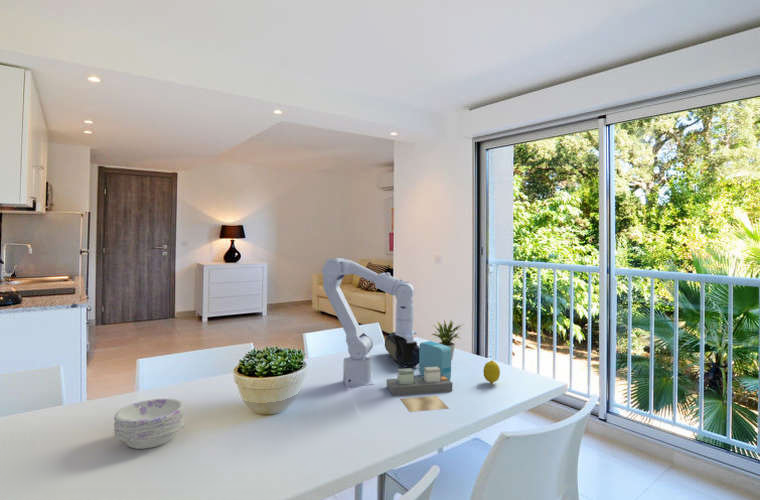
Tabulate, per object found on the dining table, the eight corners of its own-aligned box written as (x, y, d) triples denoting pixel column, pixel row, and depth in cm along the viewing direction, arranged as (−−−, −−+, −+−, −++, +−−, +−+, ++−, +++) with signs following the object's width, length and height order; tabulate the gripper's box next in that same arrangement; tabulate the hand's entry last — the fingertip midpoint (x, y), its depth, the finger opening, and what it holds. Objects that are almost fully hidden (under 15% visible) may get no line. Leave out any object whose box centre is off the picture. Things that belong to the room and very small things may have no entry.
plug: (400, 393, 139) (400, 371, 139) (397, 390, 142) (397, 369, 141) (413, 392, 140) (413, 371, 140) (410, 389, 143) (410, 368, 142)
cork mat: (409, 413, 123) (409, 411, 123) (400, 400, 133) (400, 398, 133) (449, 409, 126) (449, 408, 126) (436, 397, 136) (436, 395, 136)
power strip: (392, 396, 136) (392, 385, 136) (386, 388, 143) (386, 377, 143) (452, 392, 140) (452, 381, 140) (443, 383, 148) (443, 373, 148)
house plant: (464, 365, 169) (464, 324, 168) (428, 363, 172) (429, 322, 171) (464, 356, 183) (465, 317, 182) (431, 353, 186) (432, 316, 185)
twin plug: (427, 391, 141) (427, 370, 141) (424, 388, 144) (424, 367, 144) (440, 390, 142) (440, 369, 142) (436, 387, 145) (437, 366, 145)
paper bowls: (167, 421, 117) (167, 392, 116) (196, 438, 107) (196, 407, 107) (104, 442, 105) (103, 409, 105) (129, 463, 95) (129, 427, 95)
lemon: (498, 381, 151) (498, 358, 151) (501, 386, 146) (501, 363, 146) (482, 380, 152) (482, 357, 152) (484, 385, 146) (484, 362, 146)
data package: (451, 381, 151) (451, 347, 151) (441, 383, 149) (442, 348, 148) (427, 372, 161) (428, 340, 161) (418, 374, 158) (419, 341, 158)
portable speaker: (382, 353, 186) (382, 330, 186) (404, 352, 189) (404, 329, 188) (398, 371, 162) (399, 344, 162) (424, 369, 164) (424, 343, 164)
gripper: (422, 322, 138) (422, 365, 138) (410, 314, 152) (409, 352, 152) (401, 323, 136) (400, 366, 137) (390, 315, 151) (390, 353, 151)
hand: (403, 359), depth 145 cm, fingers open, 7 cm apart
